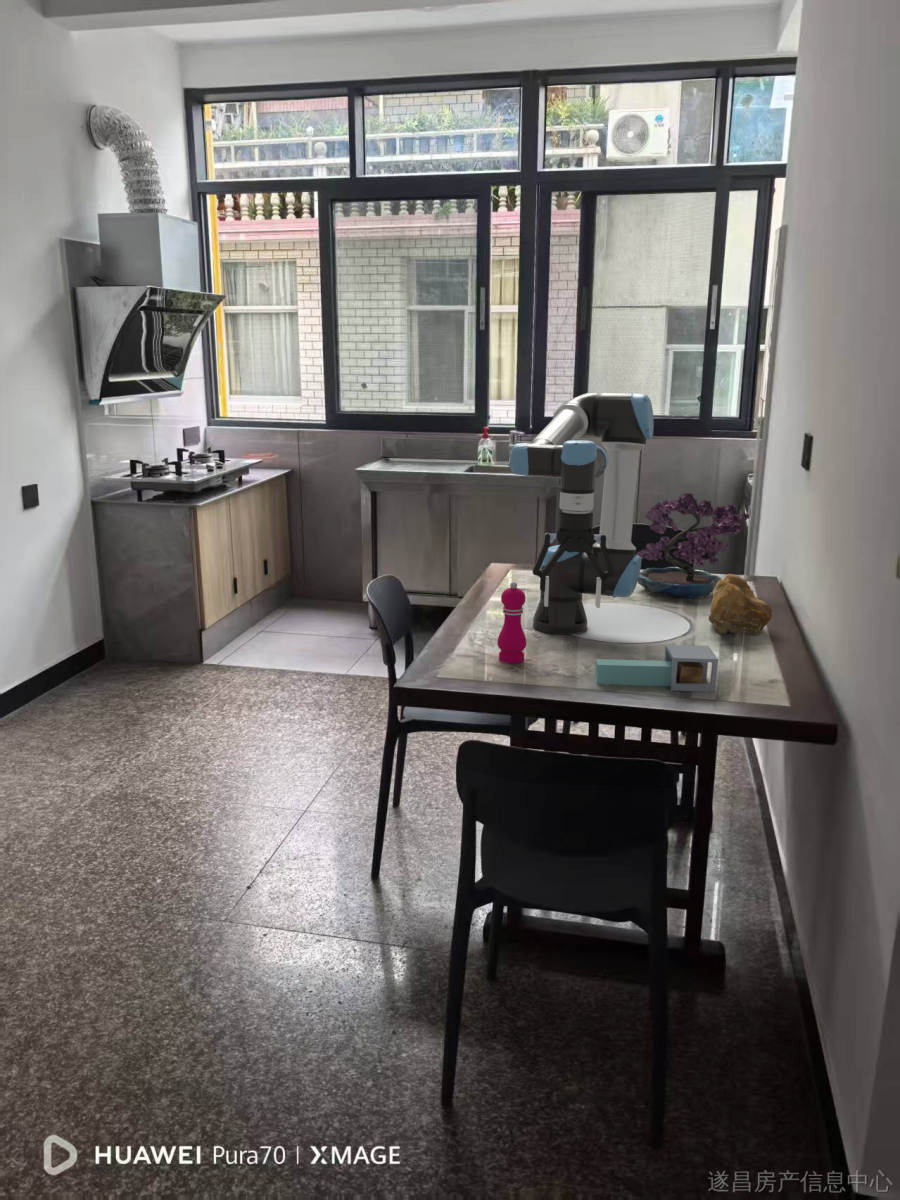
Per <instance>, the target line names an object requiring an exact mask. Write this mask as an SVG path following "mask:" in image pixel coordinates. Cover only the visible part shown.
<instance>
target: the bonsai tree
mask: <svg viewBox="0 0 900 1200" xmlns="http://www.w3.org/2000/svg"><path fill="white" fill-rule="evenodd" d="M678 498H679V499H676V500H674V499H673V500H669V499H665V500H664V501H663V502H657V503H656V504H655V505H654V506H653V507H651V508H650V511H647V513H646V516H645V517H646V519H648V521H649V520H650V521H651V522H652V523H651V524H650V525H649V529H650V530H652V531H653V532H655V533H656V534H660V535H662V534H665V532H666V531H667V525H668V526H669V527H671V529H672V530H673V531H675V532H676V531H678V530H679V528H678V526H677V524H676V523H675V521H674V519H673V518H672V517H670V516H669V515H671V514H672V512H679V515H681V514H682V515H683V516H684V515H685V516H687V515H690V514H691V515H692V516H693V517H694V518H695V519H696V521H695V522H694V523H693V524H691V525H690V526H689V527H687V528H686V529H684V530H682V531H681V532H679V533H678V534H676V535H675V536H673V538H671V539H670V537H669V536H667V535H666V536H661V537H660V538H659V541H656V542H655V543H653V542H651V543H646V545H645V548H642V549H641V550H639V551H637V552H636V555H638V556H640V557H641V560H643V559H644V560H648V561H651V560H653V561H658V560H659V561H660V560H661V561H662V560H664V559H665V560H666V561H667V562H668V563H669V564H671V565H673V566H667V567H663V568H659V567H658V568H657V567H647V568H646V569H644V570H642V572H641V571H640V574H639V578H638V581H637V584H638V585H640V586H641V587H643V588H644V590H645V592H647V593H649V594H652V595H654V596H659V597H663V598H670V599H678V600H679V599H680V600H681V599H682V600H685V599H689V600H691V599H701V598H702V599H703V598H706V597H708V596H710V595H711V593H714V589H715V586H716V584H717V582H718V581H719V580H722V578H721V577H720V576H719V575H715V574H714V575H713V574H711V573H710V572H708V571H706V570H702V569H694V568H693V567H692V565H693V563H695V564H696V566H699V567H700V568H703V567H704V566H705V561H708V560H709V561H708V562H709V563H710V564H712V565H719V564H720V563H719V558H718V557H716V555H717V554H718V553H719V551H721V552H724V551H728V550H729V548H730V547H729V546H730V545H729V544H728V543H727V541H724V540H719V539H717V538H716V536H727V535H729V536H730V535H733V534H734V535H738V533H741V530H742V524H741V523H742V522H744V521H747V520H748V519H749V518H750V514H749V513H745V512H744V513H743V512H740V513H739V510H738V508H737V505H736V504H726V505H721V506H716V507H715V508H714V507H713V506H712V501H711V500H706V499H703V500H702V499H701V501H699V503H698V502H697V501H698V499H695V497H694V494H693V493H691V492H690V493H689V492H683V493H682V494H680V496H678ZM703 517H706V518H710V517H711V518H712V523H711V525H706V526H705V527H704V526H703V527H698V526H699V525H700V522H701V519H703ZM694 532H696V533H694ZM679 540H682V542H681V541H679ZM678 541H679V542H678ZM676 542H678V543H677V546H676V545H674V544H676ZM671 550H674V551H673V553H672V555H670V553H671V552H670V551H671ZM672 556H673V557H672ZM674 557H675V558H674ZM679 558H680V560H683V561H685V562H686V563H685V562H682V561H680V560H679ZM687 562H688V563H689V564H687Z"/></svg>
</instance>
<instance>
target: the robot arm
mask: <svg viewBox="0 0 900 1200" xmlns="http://www.w3.org/2000/svg"><path fill="white" fill-rule="evenodd" d="M653 410H654V409H653V405H652V400H651V399H650V397H649V396H648V395H647V394H644V393H636V392H596V391H595V392H593V391H592V392H587V393H583V394H580V395H578V396H576V397H573V398H571V399H569V400H567V401H565V402H563V404H561V405H560V406H559V407H558V408H557V409H556V410H555V412H554V413H553V416H552V419H551V421H550V422H549V423H548V424H547V425H546V426H545V427H544V428H543V429H542V430H541V431H540V432H539V433H538V434H537V436H536V437H534V439H533V440H532V441H531V442H530V443H527V442H521V443H515V444H514V445H513V446H512V448H511V451H510V457H509V458H510V459H509V463H510V464H509V465H510V469H511V471H512V473H513V474H514V475H519V476H525V477H539V478H540V477H543V478H557V479H560V491H559V509H560V512H559V513H558V515H559V516H558V529H557V532H556V533H549V532H545V533H544V535H543V537H544V538H543V544H542V546H541V548H540V551H539V553H538V556H537V558H536V561H535V564H534V565H533V567H532V574H533V575H534V576H537V577H538V578H540V579H539V590H540V596H539V597H540V599H539V602H538V604H537V607H536V610H535V612H534V615H533V618H532V619H533V620H532V626H533V628H534V629H535V630H537V631H540V632H543V633H546V634H554V635H574V634H579V633H583V632H585V631H587V629H588V618H587V615H586V611H585V608H584V603H583V595H584V594H586V595H595V604H594V606H595V607H596V609H600V608H601V596H605V597H612V598H628V597H631V596H632V595H633V593H634V592H635V590H636V587H637V584H638V578H639V574H640V572H641V569H642V568H641V567H642V559H641V557H640V556H638V555H636V554H637V547H636V546H635V545H634V543H632V536H633V535H632V534H633V526H634V525H633V524H634V513H635V504H636V503H635V502H636V488H637V481H638V480H637V478H638V468H639V459H640V452H641V451H642V450H643V449H644V448H645V447H646V444H647V440H651V439H652V438H653V435H654V430H655V429H654V425H655V423H654V411H653ZM581 437H595V438H596V437H598V438H601V445H602V446H603V447H604V448H602V447H601V446H599V445H597V444H596V443H595V441H592V440H585V439H583V440H580V438H581ZM578 439H579V440H578ZM603 474H604V477H603V488H602V489H603V490H602V501H601V511H600V512H601V513H600V524H599V534H596V533H595V534H594V532H593V527H594V526H593V525H594V522H593V521H594V513H593V512H592V511H593V509H594V504H595V502H594V501H595V499H594V498H595V485H596V484H595V482H596V479H598V478H599V477H601V476H602V475H603ZM555 540H557V542H558V543H559V544H557V545H552V546H550V545H551V544H553V543H554V541H555ZM593 541H595V543H593ZM592 543H593V544H592ZM591 544H592V550H591V548H590V545H591Z"/></svg>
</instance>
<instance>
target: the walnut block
mask: <svg viewBox="0 0 900 1200" xmlns="http://www.w3.org/2000/svg"><path fill="white" fill-rule="evenodd" d="M703 680H704V678H703V666H702V665H701V663H700V662H680V661H678V663H677V675H676V683H696V684H703Z"/></svg>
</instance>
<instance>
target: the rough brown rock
mask: <svg viewBox="0 0 900 1200" xmlns="http://www.w3.org/2000/svg"><path fill="white" fill-rule="evenodd" d="M772 612H773V609H772V607H771V606H770V605H769V604H768V603H767V602H765V601H764V600H762V599H758V598H757V597H756V596H755V593H754V591H753V590H752V588H751V587H750V585H749V584H748V581H747V580H746V579H745V578H743V577H741V576H739V575H737V574H733V573H728V574H726V576H725V577H724V579H721V580H719V581H718V582H717V584H716V586H715V589H714V590H713V595H712V600H711V603H710V610H709V615H708V621H709V623H710V624H713V625H714V627H715V629H716V632H718V633H719V635H720V634H721V635H723V634H727V633H728V632H729V633H732V634H734V633H735V634H736V633H737V634H738V633H743V632H744V633H748V634H749V635H753V636H758V635H759V634H761V633H762V632H763V630H764V629H765V627H766V625H768V623H769V622H770V621H771V620H772V616H773V615H772V614H773V613H772Z"/></svg>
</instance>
